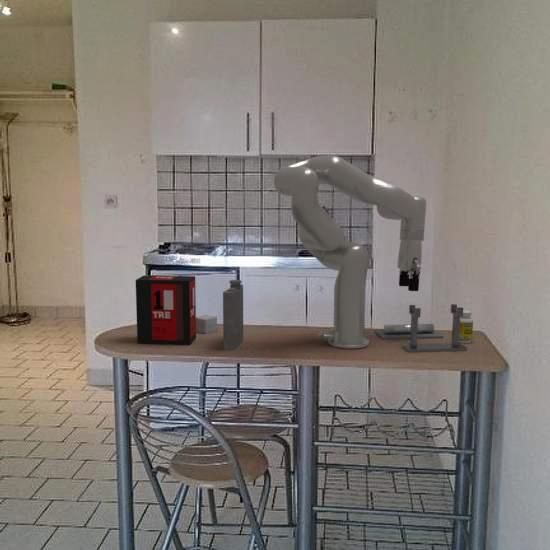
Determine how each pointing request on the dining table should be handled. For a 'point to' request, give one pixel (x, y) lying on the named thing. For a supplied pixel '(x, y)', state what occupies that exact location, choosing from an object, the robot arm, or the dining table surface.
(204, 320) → the small box
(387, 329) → the grey metallic bar
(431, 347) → the hook stand
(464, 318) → the supplement bottle
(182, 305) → the cleaning product box
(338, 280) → the robot arm
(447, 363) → the dining table surface
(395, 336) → the slate mat
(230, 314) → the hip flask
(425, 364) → the dining table surface
